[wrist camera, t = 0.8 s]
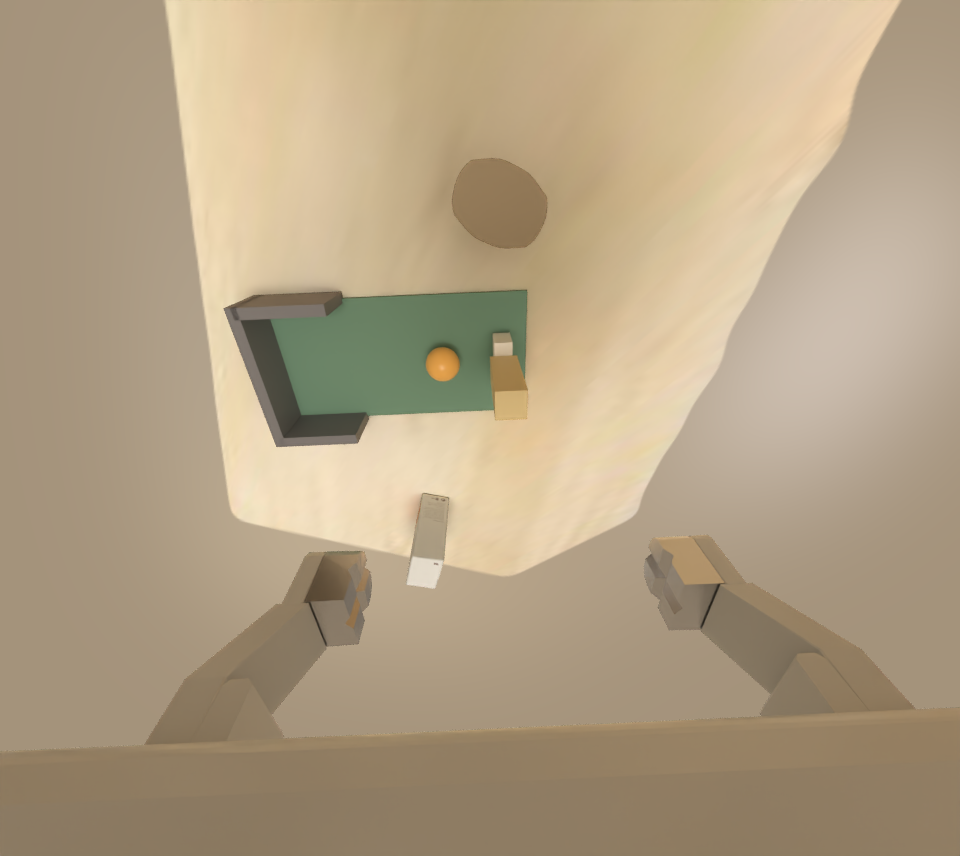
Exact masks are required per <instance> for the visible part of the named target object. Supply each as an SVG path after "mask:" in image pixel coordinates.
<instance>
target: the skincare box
mask: <svg viewBox="0 0 960 856" xmlns="http://www.w3.org/2000/svg"><path fill="white" fill-rule="evenodd" d="M448 505H449V498H446V497H441V496H435V495H429V494H423V495H422V500H421V504H420V509H419V513H418V517H417V522H416V527H415V533H414V539H413V544H412V550H411V556H410V562H409V568H408V574H407V580H406V584H407V585H413V586H420V587H427V588H433V589H434V588H435V587H436V584H437V581H438V578H439V576H440V572H441V569H442V566H443V562H444V555H445V543H446V530H447V518H448Z"/></svg>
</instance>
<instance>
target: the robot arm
mask: <svg viewBox="0 0 960 856" xmlns="http://www.w3.org/2000/svg"><path fill="white" fill-rule="evenodd" d="M649 549H650V551H651V553H652V554H651V555H649V556H648V557H647V558H646V559H645V564H644V574H645V580H646V583H647V586H648V588H649V590H650V592H651V593H652V594H653V595H655V596H656V597H657V598H658V599H660V602H659V605H658V609H659V611H660V613H661V615H662V617H663V619H664V621H665V623H666V625H667V627H668V629H669V630H701V632H702V633H703V634H705V635H706V636H707V637H708V638H709V639H710V640H711V641H712V642H713V643H715V644H716V645H717V646H718V647H719V648H720V649H721V650H722V651H723V652H724V653H726V654H727V655H728V656H729V657H730V658H731V659H732V660H733V661H735V662H736V663H737V664H738V665H739V666H740V667H741V668H742V669H743V670H745V671H746V672H747V673H748V674H749V675H750V676H751V677H752V678H753V679H754V680H755V681H757V682H758V683H759V684H760V685H761V686H762V687H763V688H764V689H765V690H767V691H768V692H769V693H770V694H771V695H770V697H769V698H768V700H767V701H766V703H765V704H764V706H763V708H762V710H761V713H760V715H761V716H760V717H738V718H718V719H717V718H716V719H695V720H672V721H652V722H651V721H650V722H629V723H607V724H583V725H564V726H563V725H561V726H541V727H519V728H497V729H477V730H476V729H475V730H455V731H432V732H411V733H389V734H368V735H346V736H325V737H302V738H283V737H284V735H283V733H282V731H281V729H280V727H279V726H278V724H277V723H276V721H275V719H274V718H273V716H272V714H273V712H274V711H275V710H276V709H277V708H278V706H279V705H280V704H281V703H282V702H283V700H284V699H285V698H286V697H287V696H288V694H289V693H290V692H291V691H292V690H293V688H294V687H295V686H296V685H297V684H298V682H299V681H300V680H301V679H302V678H303V676H304V675H305V674H306V673H307V672H308V670H309V669H310V668H311V667H312V666H313V664H314V663H315V662H316V661H317V659H318V658H319V657H320V656H321V655H322V653H323V652H324V651H325V650H326V647H327V646H340V645H352V644H353V645H354V644H359V640H360V636H361V632H362V628H363V625H364V621H365V620H364V617H363V613H362V611H364V610H365V609H366V608H367V607H368V605H369V602H370V598H371V589H372V581H371V574H370V571H369V570H368V569H366V568H365V565H366V561H367V559H366V555H365V552H363V551H339V552H338V551H337V552H310V553H308V554H307V555H306V556H305V558H304V559H303V562H302V564H301V566H300V568H299V570H298V572H297V574H296V576H295V578H294V580H293V582H292V584H291V586H290V588H289V590H288V592H287V594H286V596H285V598H284V600H283V602H282V604H276V605H275V606H273V607H272V608H271V609H270V610H269V611H267V612H266V613H265V614H264V615H262V616H261V617H260V618H259V619H258V620H256V621H255V622H254V623H253V624H251V625H250V626H249V627H248V628H247V629H245V630H244V631H243V632H242V633H241V634H239V635H238V636H237V637H236V638H234V639H233V640H232V641H231V642H230V643H228V644H227V645H226V646H225V647H223V649H221V650H220V651H219V652H217V653H216V654H215V655H214V656H213V657H211V658H210V659H209V660H208V661H206V662H205V663H204V664H203V665H202V666H201V667H199V668H198V669H197V670H195V671H194V672H193V673H192V674H191V675H189V676H188V677H187V678H186V679H185V680H184V681H183V683H182V685H181V686H180V688H179V689H178V691H177V693H176V694H175V696H174V697H173V699H172V701H171V702H170V704H169V705H168V707H167V709H166V710H165V712H164V714H163V715H162V717H161V718H160V720H159V722H158V724H157V725H156V726H155V728H154V730H153V731H152V733H151V734H150V736H149V738H148V739H147V741H146V743H145V744H144V745H132V746H108V747H87V748H64V749H41V750H19V751H0V856H960V707H952V708H931V709H915V708H914V706H913V705H912V704H911V703H910V702H909V701H908V700H907V699H906V698H905V697H904V695H903V694H902V693H901V692H900V691H899V690H898V689H897V688H896V687H895V686H894V685H893V684H892V682H891V681H890V680H889V679H888V678H887V677H886V676H885V675H884V674H883V673H882V671H881V670H880V669H879V668H878V667H877V666H876V665H875V664H874V662H873V661H872V660H871V659H870V658H869V657H868V656H867V655H866V654H865V652H864V651H863V650H862V649H860V648H859V647H857V646H855V645H854V644H852V643H850V642H849V641H847V640H845V639H844V638H842V637H840V636H839V635H837V634H835V633H834V632H832V631H830V630H829V629H827V628H826V627H824V626H822V625H821V624H819V623H817V622H815V621H814V620H812V619H811V618H809V617H807V616H806V615H804V614H803V613H801V612H799V611H798V610H796V609H794V608H793V607H791V606H789V605H787V604H786V603H784V602H783V601H781V600H779V599H778V598H776V597H774V596H773V595H771V594H770V593H768V592H766V591H764V590H763V589H761V588H760V587H758V586H756V585H755V584H753V583H746V582H745V581H744V579H743V578H742V577H741V575H740V574H739V573H738V571H737V570H736V569H735V567H734V566H733V565H732V564H731V562H730V561H729V560H728V558H727V557H726V556H725V554H724V553H723V552H722V551H721V549H720V548H719V547H718V545H717V544H716V543H715V541H714V540H713V539H712V538H711V537H710V536H708V535H696V536H677V537H676V536H675V537H658V538H653V539H652V540H651V541H650V544H649Z"/></svg>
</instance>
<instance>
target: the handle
mask: <svg viewBox="0 0 960 856" xmlns="http://www.w3.org/2000/svg"><path fill="white" fill-rule="evenodd" d="M452 205H453V212H454V215H455V216H456V218H457V219H458V220H459V221H460V223H461V224H462V225H463V226H464V227H465V228H466V230H467V231H468V232H469V233H470V234H471V235H473V236H474V237H475V238H477V239H479V240H481V241H483V242H485V243H488V244H490V245H492V246H495V247H498V248H520V247H526V246H528V245H529V244H530V243H531V242H532V241H533V240H534V239H535V238H536V237H537V235H538V234H539V232H540V230H541V228H542V226H543V224H544V221H545V218H546V213H547V197H546V195H545V194H544V192H543V191H542V189H541V188H540V186H539V185H538V184H537V182H536V181H535V180H534V178H533V177H532V176H531V175H530V174H529V173H528V172H526V171H525V170H523V169H522V168H520V167H518V166H516V165H514V164H512V163H510V162H508V161H505V160H502V159H495V158H490V159H477V160H471V161H470V162H469V163H467V164H466V165H465V167H464V168H463V169H462V170H461V172H460V174H459V176H458V178H457V180H456V183H455V186H454V191H453V198H452Z"/></svg>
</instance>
